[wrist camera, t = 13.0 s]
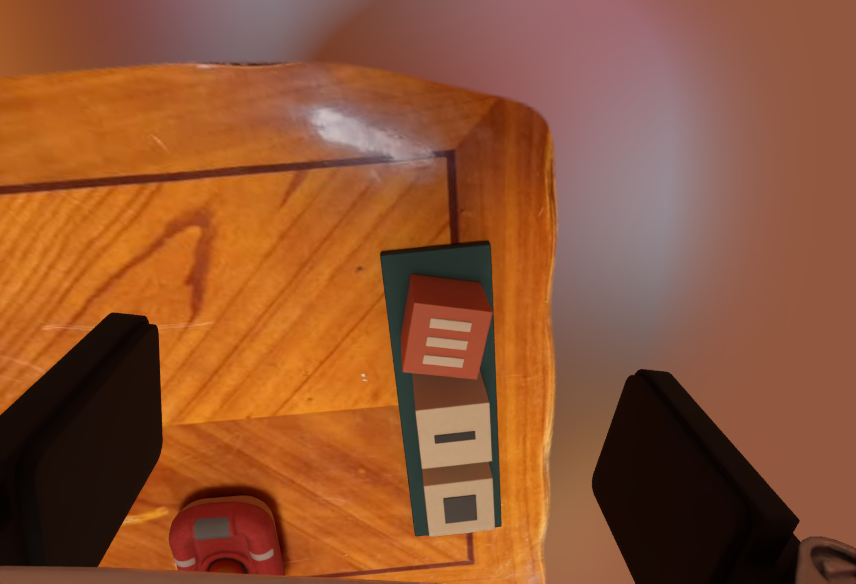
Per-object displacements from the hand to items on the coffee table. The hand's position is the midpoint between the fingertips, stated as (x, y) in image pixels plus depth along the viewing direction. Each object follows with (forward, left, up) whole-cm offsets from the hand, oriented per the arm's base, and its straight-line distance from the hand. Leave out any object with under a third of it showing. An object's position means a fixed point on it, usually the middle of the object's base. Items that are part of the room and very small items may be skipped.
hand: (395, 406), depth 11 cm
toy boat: (+31, -8, -24) cm, 40 cm away
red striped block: (+8, +4, -23) cm, 25 cm away
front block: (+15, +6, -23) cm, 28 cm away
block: (+21, +8, -23) cm, 32 cm away
